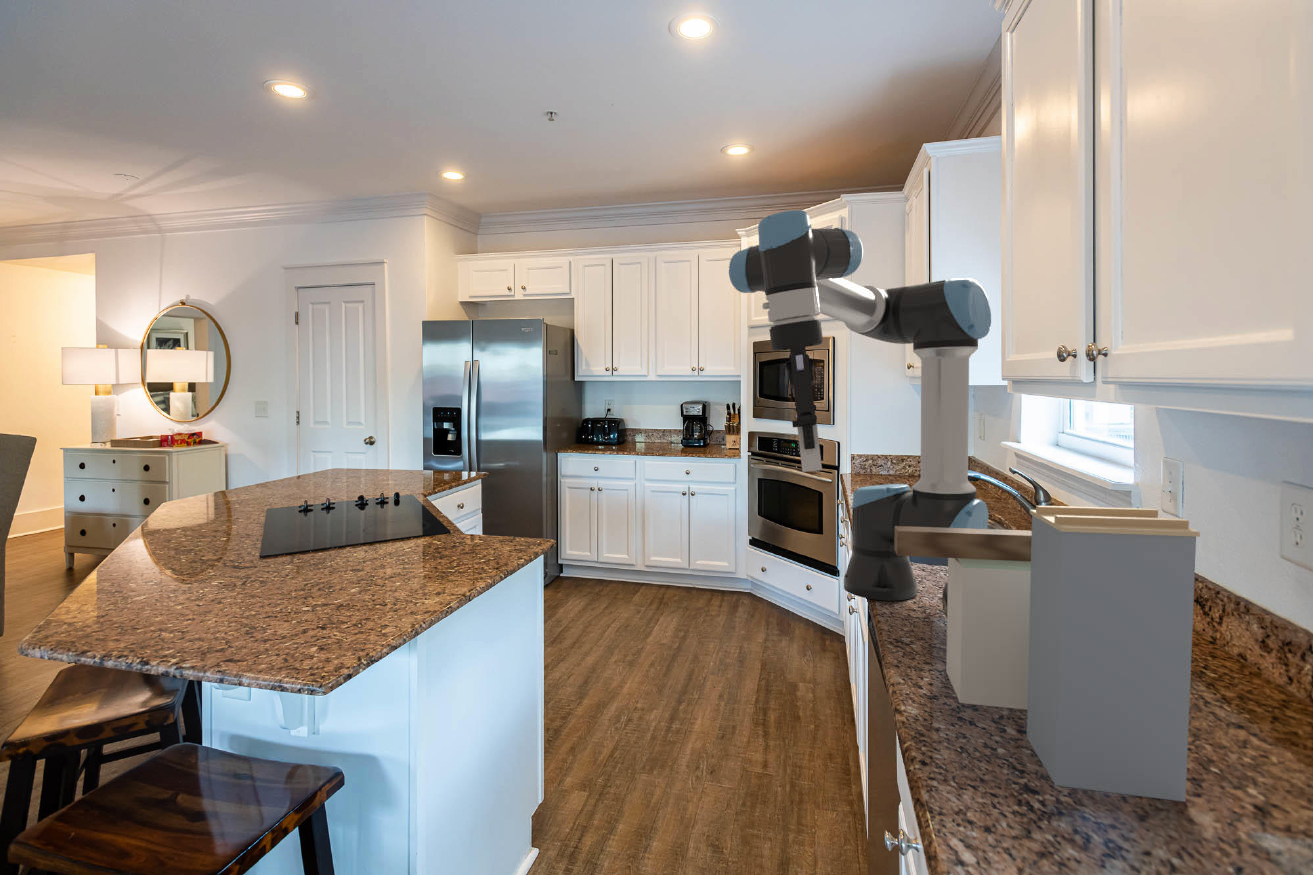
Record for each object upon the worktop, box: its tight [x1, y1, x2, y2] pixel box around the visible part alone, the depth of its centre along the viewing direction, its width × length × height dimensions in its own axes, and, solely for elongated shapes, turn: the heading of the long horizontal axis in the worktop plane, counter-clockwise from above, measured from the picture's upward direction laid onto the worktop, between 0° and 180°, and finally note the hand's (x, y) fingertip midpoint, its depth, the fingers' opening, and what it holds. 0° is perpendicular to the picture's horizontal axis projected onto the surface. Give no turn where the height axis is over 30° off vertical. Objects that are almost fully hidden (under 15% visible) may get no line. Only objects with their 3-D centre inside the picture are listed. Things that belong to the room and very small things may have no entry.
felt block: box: [945, 558, 1031, 711], centre depth 89 cm, size 20×10×20 cm, turn 75°
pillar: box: [1026, 505, 1201, 803], centre depth 71 cm, size 12×10×29 cm
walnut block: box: [894, 526, 1032, 562], centre depth 90 cm, size 26×4×4 cm, turn 76°
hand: (810, 461), depth 96 cm, fingers open, 13 cm apart
